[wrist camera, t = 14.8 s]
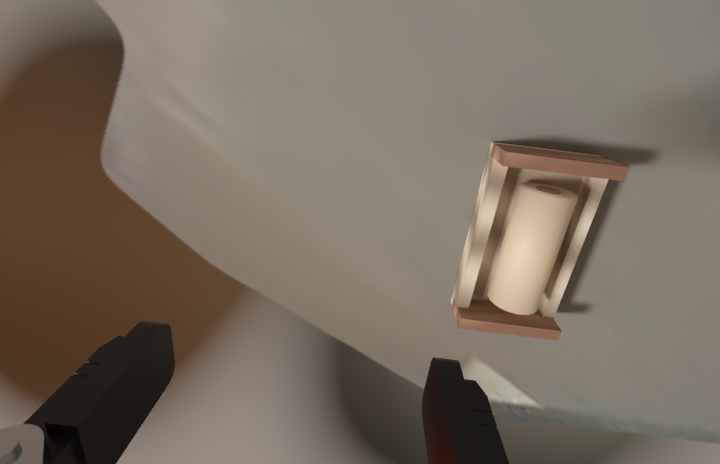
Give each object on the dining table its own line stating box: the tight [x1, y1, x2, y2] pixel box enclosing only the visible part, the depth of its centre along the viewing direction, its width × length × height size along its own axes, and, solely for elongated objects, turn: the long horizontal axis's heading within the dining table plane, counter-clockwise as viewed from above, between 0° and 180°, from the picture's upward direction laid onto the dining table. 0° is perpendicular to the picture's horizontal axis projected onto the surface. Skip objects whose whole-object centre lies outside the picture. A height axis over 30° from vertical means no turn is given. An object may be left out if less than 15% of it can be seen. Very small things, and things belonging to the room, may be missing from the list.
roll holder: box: [451, 142, 629, 340], centre depth 37 cm, size 18×10×5 cm, turn 174°
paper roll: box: [488, 182, 578, 315], centre depth 37 cm, size 12×5×5 cm, turn 174°
